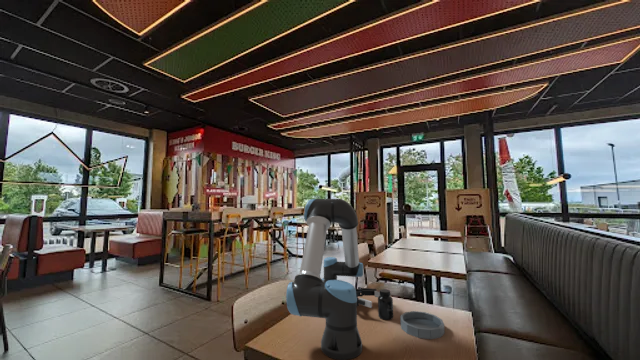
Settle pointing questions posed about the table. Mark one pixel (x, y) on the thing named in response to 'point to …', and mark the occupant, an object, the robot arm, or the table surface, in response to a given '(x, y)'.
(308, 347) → the table surface
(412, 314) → the bowl
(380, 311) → the supplement bottle
